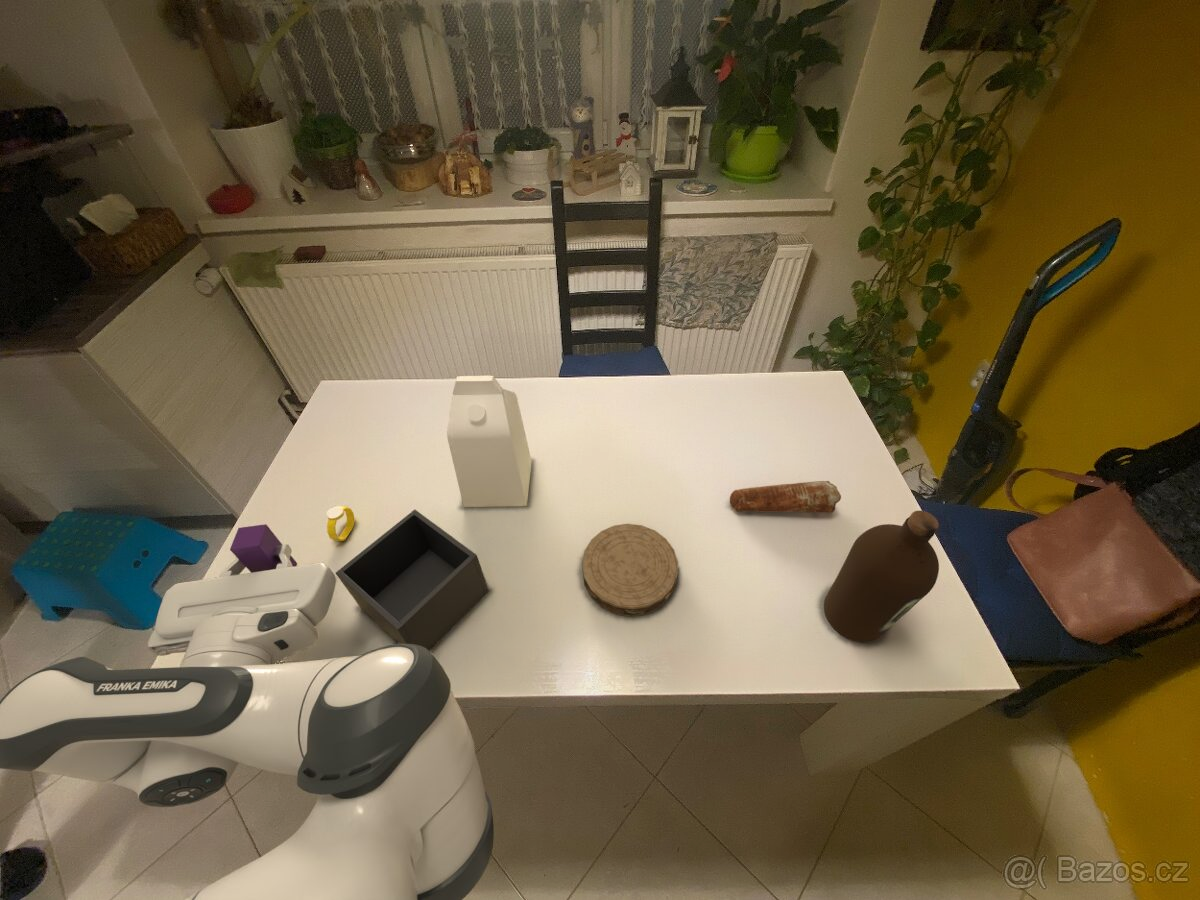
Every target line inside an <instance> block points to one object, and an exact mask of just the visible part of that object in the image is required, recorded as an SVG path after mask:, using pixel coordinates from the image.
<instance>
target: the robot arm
mask: <svg viewBox="0 0 1200 900" xmlns="http://www.w3.org/2000/svg"><path fill="white" fill-rule="evenodd" d="M273 556H274V557H275V558H277V560H278V562H282V564H281V563H280V564H277V567H276V569H273V570H266V571H260V572H252V573H251V572H246V573H242V572H243V571H244V570H245V569H246V566H245V565H244V564H243V563H242V562H241V561H240V560H239V559H238V558H237V557H236V556H235V558H234V560H232V561H231V562H230V563H229V564H228V565H227V566H225V568H224V569H222V571H220V574H219V575H218V577H212V578H205V579H204V578H203V579H198V580H191V581H190V580H189V581H183V582H177V583H174V584H173V585H172V586H171V587H170V588H168V589H167V590H166V591H165V592H164V596H163V597H162V600H161V603H160V605H159V609H158V612H157V616H156V620H155V626H154V630H153V631H152V633H151V635H150V637H149V639H148V642H147V648H148V650H149V652H150V653H153V654H155V655H156V656H158V657H160V656H161V657H162V656H163V657H164V656H168V655H171V654H178V653H179V654H180V653H184V655H183V658H182V660H181V663H180V665H179V666H178V667H177V666H176V667H155V668H154V667H153V668H132V669H131V668H130V669H113V668H111V667H108V666H106V665H105V664H103V663H100V662H98V661H95V660H93V659H91V658H88V657H86V656H78V657H74V658H70V659H67V660H63V661H60V662H58V663H54V664H52V665H49V666H46V667H44V668H42V669H40V670H38V671H36V672H34V673H32V674H30V675H28V676H27V677H25V678H24V679H22V680H21V681H19V682H18V683H17V684H15V685H14V686H13V687H11V689H10V690H9V691H8V692H7V693H6V694H5V695H4V696H3V697H2V698H1V699H0V769H1V770H11V771H20V772H21V771H22V772H33V771H35V772H39V773H45V774H50V775H56V776H62V777H68V778H74V779H79V780H85V781H90V782H97V783H103V784H108V785H113V786H119V787H123V788H126V789H129V790H131V791H133V792H135V793H136V794H137V798H138V800H139V802H140V803H142V804H144V805H146V806H149V807H155V808H174V807H178V806H184V805H190V804H195V803H197V802H200V801H202V800H205V799H207V798H209V797H211V796H213V795H214V794H216V793H218V792H220V791H221V790H222V789H223V788H225V786H226V785H227V783H228V782H229V780H230V779H231V777H232V775H233V774H234V772H235V770H236V769H237V766H238V764H242V765H244V766H247V767H250V768H254V769H257V770H260V771H264V772H267V773H272V774H276V775H281V776H287V777H294V778H295V777H296V785H297V787H298V788H299V789H301V790H302V791H304V792H306V793H309V794H312V795H318V797H317V800H316V802H315V804H314V806H313V808H312V810H311V812H310V813H309V815H308V816H307V817H306V819H305V820H304V822H303V823H302V824H301V826H300V827H299V828H298V829H297V830H296V831H295V832H294V833H293V834H291V836H289V837H288V838H287V839H286V840H284V841H283V842H282V843H280V844H279V845H277V846H276V847H274V848H273V849H271V850H270V851H268V852H267V853H265V854H263V855H261V856H260V857H258V858H256V859H254V860H253V861H251V862H248V863H246V864H245V865H243V866H241V867H239V868H237V869H235V870H233V871H232V872H230V873H228V874H226V875H225V876H222V877H221V878H219V879H218V880H216V881H214V882H212V883H210V884H208V885H206V886H205V887H204V888H202V889H200V890H198V891H197V892H195V893H193V894H192V895H190V896H188V897H187V898H185V899H184V900H464V899H465V898H466V897H467V896H468V895H469V894H470V893H471V891H472V890H473V889H474V888H475V887H476V885H477V884H478V883H479V881H480V880H481V878H482V877H483V875H484V873H485V871H486V869H487V867H488V865H489V863H490V860H491V856H492V853H493V848H494V836H495V834H494V833H495V832H494V831H495V829H494V827H495V826H494V816H493V807H492V803H491V800H490V797H489V796H488V795H489V794H487V791H486V790H485V786H484V781H483V777H482V772H481V769H480V768H481V767H480V765H479V761H478V757H477V754H476V745H475V741H474V738H473V735H472V733H471V729H470V728H469V725H468V723H467V721H466V718H465V716H464V714H463V711H462V709H461V707H460V705H459V703H458V701H457V699H456V697H455V695H454V694H453V692H452V690H451V687H452V685H451V680H450V678H449V676H448V674H447V672H446V671H445V669H444V667H443V666H442V665H441V664H440V662H439V660H438V659H437V658H436V656H435V655H434V654H433V653H432V652H431V650H430V651H429V650H428V649H426V648H425V647H422V646H420V645H415V644H399V643H392V644H387V645H383V646H380V647H377V648H375V649H372V650H369V651H367V652H364V653H363V654H361V655H352V656H342V657H341V656H340V657H333V658H324V659H315V660H306V661H294V662H285V663H278V662H280V661H282V660H284V659H286V658H288V657H289V656H292V655H294V654H296V653H299V652H301V651H303V650H305V649H308V648H309V647H312V646H314V645H315V644H316V643H317V641H318V638H319V631H318V630H317V628H316V626H318V625H319V624H320V623H321V622H322V621H323V620H324V619H325V617H326V615H327V614H328V611H329V608H330V606H331V603H332V601H333V597H334V593H335V588H336V583H337V576H336V574H335V573H334V571H333V570H332V569H331V568H330V567H329V565H327V564H326V563H325V562H315V563H309V564H303V565H301V564H300V565H297V566H294V567H293V566H292V563H291V561H290V560H289V559H290V556H292V547H290V545H289V543H288V544H287V543H286V544H282V545H278V546H276V547H275V551H274V553H273Z"/></svg>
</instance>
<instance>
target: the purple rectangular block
mask: <svg viewBox="0 0 1200 900" xmlns="http://www.w3.org/2000/svg"><path fill="white" fill-rule="evenodd" d="M278 545H283V544H282V542H281V541H280V540H279V538H278V537H277V535H275V533H274V532H273V531H272V529H271V528H270V527H269V526H268V524H267V523H265V524H255V525H250V526H249V525H248V526H241V527H238V529H237V531H236V533H235V535H234V538H233V540H232V543H231V545H230V548H229V551H230V552H231V553H232V554H233V555H234V556H235V558H236V557H237V558H238V559H239V560H240V561H241V562H242V563H243V564H244V565H245V566H246V567H245V569H247V570H248V571H249V573H252V572H260V571H266V570H273V569H276V567H277V564H280V563H281V564H282V562H278V560H277V558H275V557H274V556H273V553H274V551H275V547H276V546H278ZM289 560H290V561H291V563H292V566H293V567H294V566H298V562H297V561H296V560H295V558H294V557H293V556H292V555H291V556H290V559H289Z"/></svg>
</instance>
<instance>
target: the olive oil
mask: <svg viewBox="0 0 1200 900" xmlns="http://www.w3.org/2000/svg"><path fill="white" fill-rule="evenodd" d="M939 526H940V524H939V521H938V519H937V517H935V516H934V515H933V514H931V513H930V512H927V511H925V510H914V511H913V512H911V514H910V515H909V517H907V518H906V519H905V521H904V522H903V524H902V525H900V524H893V523H892V524H891V523H888V524H887V523H886V524H878V525H876V526H873V527H870V528H869V529H867V530H865V531H864V532H863V533H861V534H860V535H858V537H857V538H856V539H855V541H854V542H853V544H852V546H851V547H850V550H849V552H848V553H847V556H846V557H845V560H844V561H843V564H842V566H841V568H840V570H839V571H838V574H837V576H836V578H835V579H834V581H833V583H832V584H831V587H830V588H829V590H828V592H827V593H826V595H825V598H824V601H823V612H824V615H825V618H826V619H827V621H828V623H829V624H830V626H831V627H832V628H833V629H834V630H835V631H836V632H837V633H839V634H840V635H841V636H843V637H844V638H846V639H848V640H851V641H853V642H858V643H863V644H864V643H867V644H868V643H873V642H875V641H877V640H879V639H880V638H882V637H883V636H884V635H885V634H886V633H887V632H888V631H889V630H890V629H891V628H892V627H893V626H894V625H895V624H896V623H898V621H900V620H901V619H902V618H903V617H904V616H905V615H906V614H907V613H908V612H910V611H911V609H913V608H914V607H915V606H916V605H917V604H918V603H919V602H921V600H923V599H924V598H925V597H926V596H927V595H928V594H929V593H930V592H931V591H932V589H933V588H934V587H935V585H936V583H937V580H938V577H939V572H940V562H939V557H938V555H937V553H936V550H935V549H934V547H933V545H932V544H931V543H930V540H931V539H932V538H933V537H934V536H935V533H936V531H937V530H938V529H939Z"/></svg>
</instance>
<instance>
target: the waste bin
mask: <svg viewBox="0 0 1200 900" xmlns="http://www.w3.org/2000/svg"><path fill="white" fill-rule="evenodd" d="M335 576H336V577H337V578H338V579H339V580H340V582H341V583H342V585H343V586H344V588H345V589H346V590H347V591H348V593H349V595H350V596H351V597H352V598H353V599H354V601H355V602H356V604H357V605H358V607H359V608H360V609H361V610H362V611H363V612H364V613H366V614H367V615H368V616H369V617H370V618H371V619H372V620H373V621H374V622H375V623H376V624H377V625H378V626H379V627H381V628H382V629H383V630H384V632H386V633H387V634H388V635H389V636H390V637H391V638H392V639H393V640H395V642H397V644H415V645H420V646H422V647H425V648H426V649H428V650H429V651H430V652H431V651H432V649H433V648H434V647H435V646H436V645H437V644H438V643H439V642H440V641H441V640H442V639H443V638H444V637H445V636H446V635H447V634H448V633H449V632H450V631H451V630H452V629H453V628H454V627H455V626H456V625H457V624H458V623H459V622H460V621H461V620H462V619H463V618H464V617H465V616H466V615H467V614H468V613H469V612H470V611H471V610H472V609H473V608H474V607H475V606H476V605H477V604H478V603H479V601H481V599H482V598H484V596H485V595H487V594H488V592H489V591H490V590H489V587H488V584H487V583H488V582H487V581H486V577H485V575H484V571H483V568H482V565H481V564H480V559H479V557H478V555H477V554H476V553H475V552H473V550H471V549H470V548H468V547H467V546H465V544H463V543H462V542H460V541H459V540H457V539H456V538H454V537H453V536H452V535H451V534H449V533H448V532H447V531H445V530H444V529H442V528H441V527H440V526H438V525H437V524H436V523H434V522H433V521H432V520H431V519H429V518H428V517H426V516H425V515H423V514H422V513H420V512H419V511H418V510H417V509H413V510H412V511H411V512H409V513H408V514H407V515H406V516H404V517H403V518H402V519H401V520H400V521H398V522H397V523H395V524H394V525H393V526H392V527H390V528H389V529H388V530H387V531H385V532H384V533H383V534H381V536H378V538H377V539H375V541H373V542H372V543H370V544H369V545H368V546H367V547H365V548H364V549H363V550H362V551H361V552H359V553H358V554H357V555H356V556H354V557H353V558H352V559H350V560H349V561H348V562H347V563H345V564H344V565H343V566H342V567H340V569H338V570H337V571H336V572H335Z"/></svg>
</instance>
